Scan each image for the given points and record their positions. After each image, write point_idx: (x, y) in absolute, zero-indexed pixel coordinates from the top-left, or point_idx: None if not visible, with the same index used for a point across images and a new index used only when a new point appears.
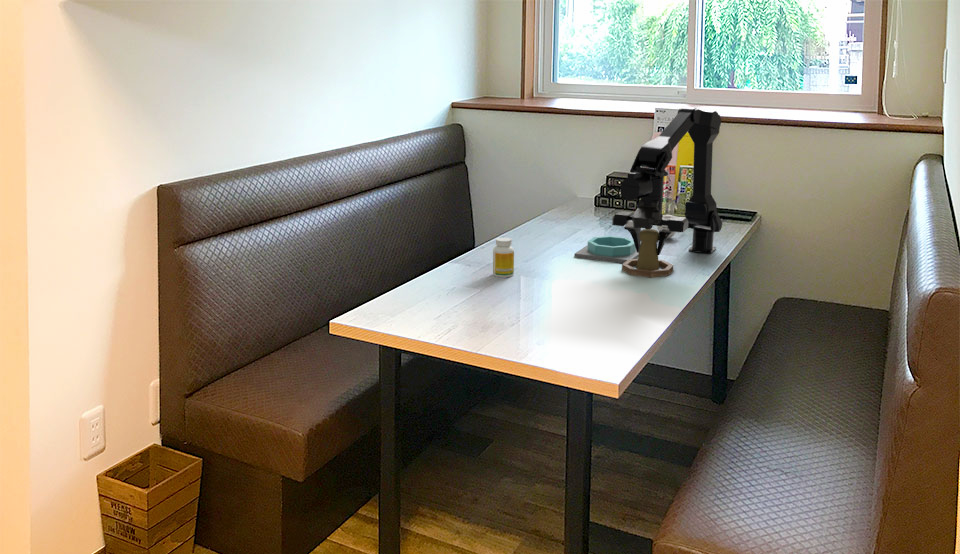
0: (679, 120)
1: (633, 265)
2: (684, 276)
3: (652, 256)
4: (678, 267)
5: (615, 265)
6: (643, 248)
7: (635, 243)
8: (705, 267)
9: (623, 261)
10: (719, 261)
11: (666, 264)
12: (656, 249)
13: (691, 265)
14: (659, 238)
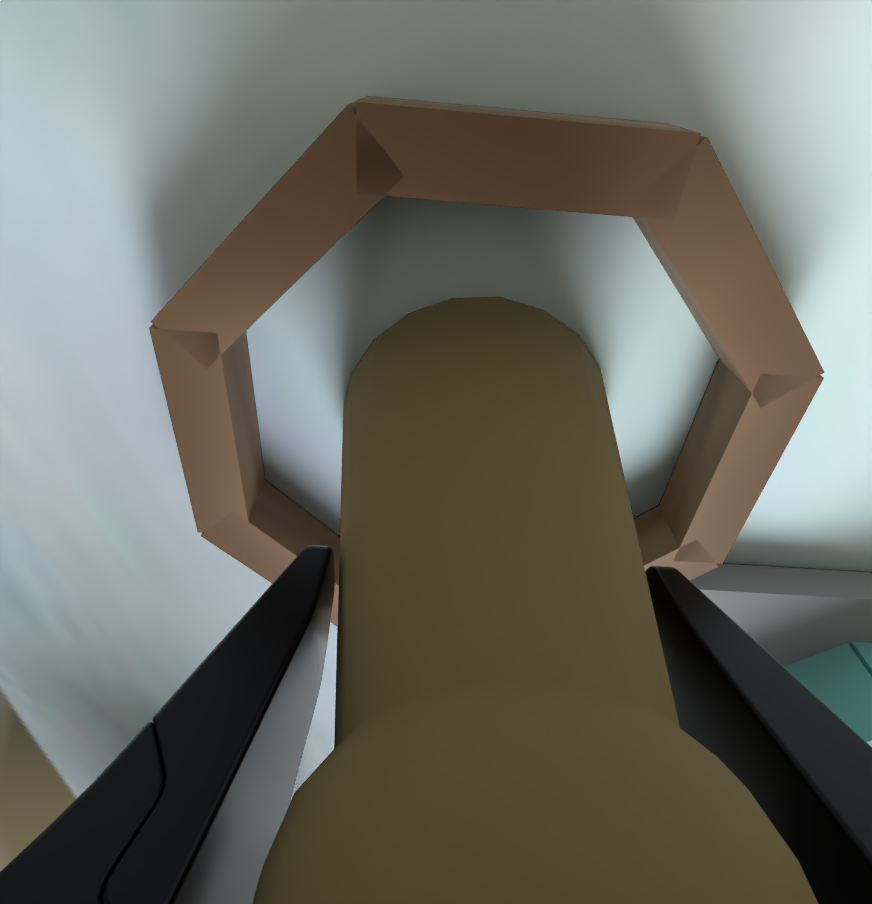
0: None
1: (639, 519)
2: (4, 339)
3: (393, 472)
4: (227, 591)
5: (834, 478)
6: (591, 570)
7: (795, 698)
8: (41, 645)
9: (745, 576)
10: (54, 759)
11: (287, 545)
12: (342, 626)
13: (162, 657)
14: (160, 891)
